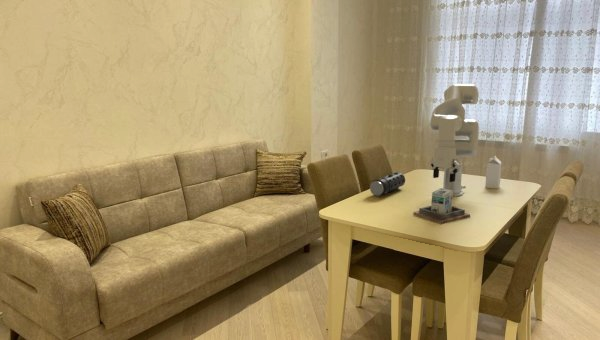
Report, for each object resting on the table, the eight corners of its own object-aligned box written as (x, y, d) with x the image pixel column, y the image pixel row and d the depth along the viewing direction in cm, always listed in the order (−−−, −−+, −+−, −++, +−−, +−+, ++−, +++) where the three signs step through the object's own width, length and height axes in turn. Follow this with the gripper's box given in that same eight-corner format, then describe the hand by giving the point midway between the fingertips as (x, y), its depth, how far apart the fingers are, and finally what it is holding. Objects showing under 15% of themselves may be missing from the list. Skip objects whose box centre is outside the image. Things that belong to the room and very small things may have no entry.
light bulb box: (444, 216, 204) (445, 194, 202) (430, 214, 208) (431, 192, 206) (452, 211, 212) (453, 189, 210) (438, 209, 217) (439, 187, 214)
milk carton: (499, 186, 266) (502, 155, 263) (497, 189, 261) (500, 157, 257) (487, 185, 270) (489, 154, 266) (485, 187, 264) (487, 156, 260)
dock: (441, 208, 222) (442, 201, 222) (470, 217, 208) (470, 210, 207) (413, 214, 212) (413, 208, 212) (441, 224, 198) (441, 217, 197)
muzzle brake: (405, 189, 261) (406, 172, 259) (383, 199, 240) (384, 181, 237) (390, 187, 267) (391, 170, 265) (368, 197, 245) (368, 179, 243)
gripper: (426, 142, 208) (424, 177, 212) (455, 146, 194) (453, 184, 197) (437, 140, 212) (435, 175, 216) (467, 145, 198) (464, 182, 201)
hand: (443, 179), depth 207 cm, fingers open, 9 cm apart
